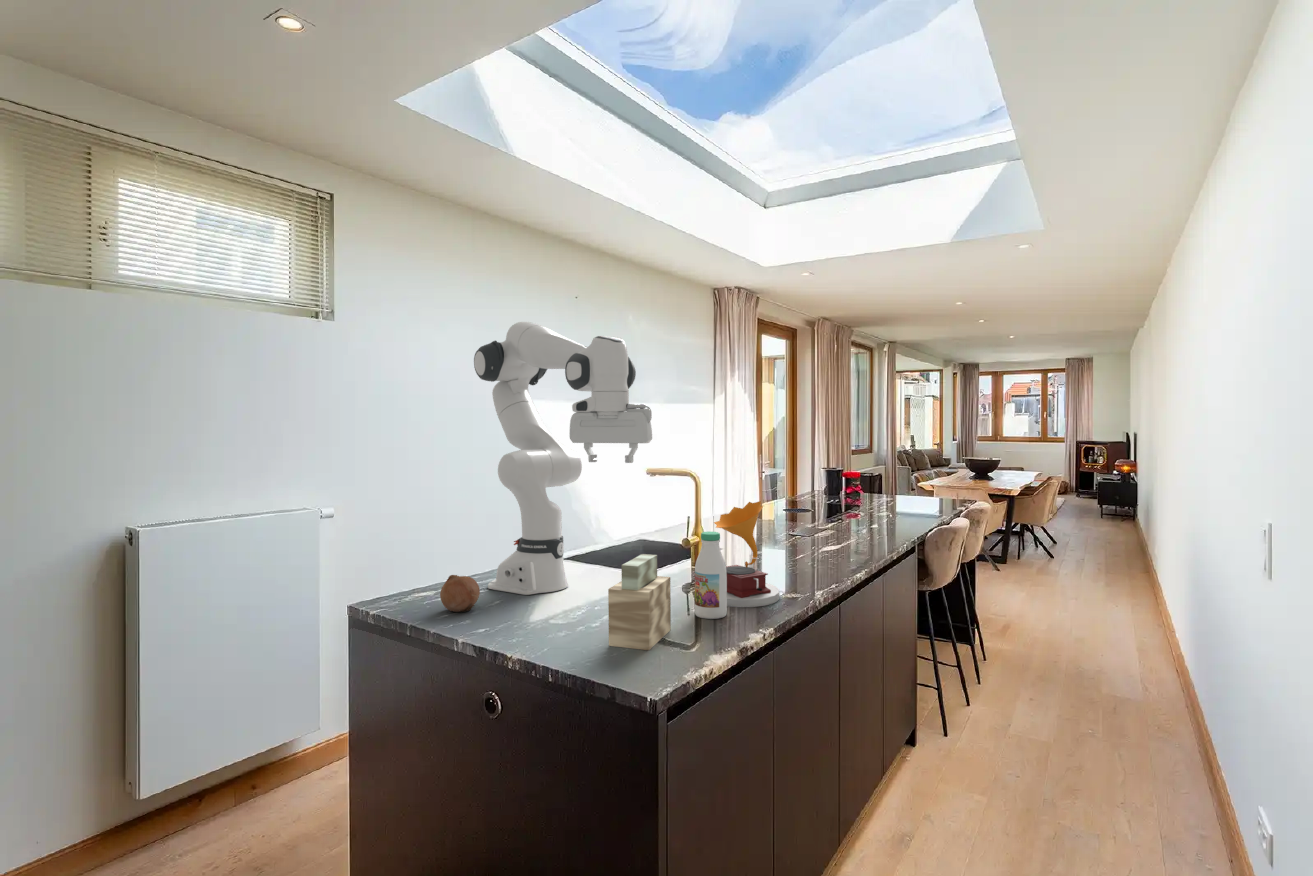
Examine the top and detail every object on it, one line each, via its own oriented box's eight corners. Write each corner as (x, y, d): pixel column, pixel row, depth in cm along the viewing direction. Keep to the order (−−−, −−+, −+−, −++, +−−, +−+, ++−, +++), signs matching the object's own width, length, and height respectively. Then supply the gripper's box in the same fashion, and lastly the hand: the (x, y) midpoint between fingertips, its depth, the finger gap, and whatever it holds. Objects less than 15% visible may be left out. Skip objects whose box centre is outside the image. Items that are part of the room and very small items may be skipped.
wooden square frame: (649, 650, 141) (648, 592, 141) (608, 645, 144) (608, 589, 144) (670, 630, 154) (670, 577, 154) (633, 626, 157) (633, 574, 157)
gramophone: (745, 583, 196) (745, 496, 196) (796, 599, 179) (796, 504, 178) (686, 593, 185) (686, 501, 185) (734, 612, 168) (734, 510, 167)
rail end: (637, 609, 143) (637, 566, 142) (621, 607, 144) (621, 565, 143) (657, 594, 154) (657, 555, 154) (642, 593, 155) (642, 554, 155)
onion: (445, 623, 171) (427, 586, 171) (476, 605, 177) (459, 570, 177) (460, 617, 164) (442, 579, 164) (492, 599, 170) (474, 562, 171)
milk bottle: (709, 608, 171) (708, 528, 170) (733, 615, 165) (733, 532, 165) (688, 615, 166) (687, 532, 165) (712, 622, 160) (712, 536, 159)
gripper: (655, 403, 162) (656, 462, 163) (577, 404, 169) (578, 460, 169) (646, 403, 156) (647, 464, 157) (566, 404, 163) (566, 462, 164)
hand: (610, 462), depth 163 cm, fingers open, 8 cm apart
